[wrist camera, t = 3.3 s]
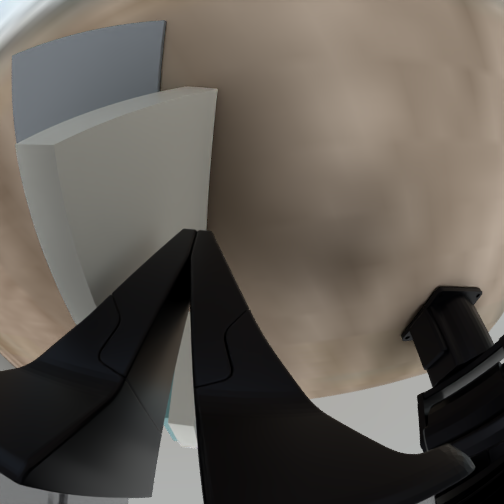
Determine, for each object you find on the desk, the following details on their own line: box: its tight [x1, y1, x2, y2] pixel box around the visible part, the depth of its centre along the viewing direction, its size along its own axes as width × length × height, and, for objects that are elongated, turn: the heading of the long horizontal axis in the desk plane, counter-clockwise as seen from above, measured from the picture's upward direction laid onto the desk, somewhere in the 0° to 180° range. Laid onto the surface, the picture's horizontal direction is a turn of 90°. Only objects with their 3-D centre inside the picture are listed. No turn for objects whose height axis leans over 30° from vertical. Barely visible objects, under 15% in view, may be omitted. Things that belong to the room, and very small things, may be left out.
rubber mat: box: [12, 20, 166, 143], centre depth 15 cm, size 9×27×1 cm, turn 172°
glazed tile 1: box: [15, 86, 218, 325], centre depth 9 cm, size 2×8×8 cm, turn 172°
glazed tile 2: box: [164, 312, 198, 449], centre depth 18 cm, size 2×8×8 cm, turn 172°
